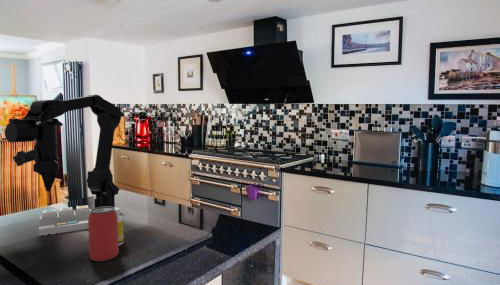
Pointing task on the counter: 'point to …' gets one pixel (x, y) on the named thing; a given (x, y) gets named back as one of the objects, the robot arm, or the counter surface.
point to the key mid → (66, 211)
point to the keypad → (63, 223)
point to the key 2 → (82, 209)
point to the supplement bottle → (119, 226)
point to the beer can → (103, 233)
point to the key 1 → (49, 213)
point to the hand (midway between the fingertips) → (48, 190)
